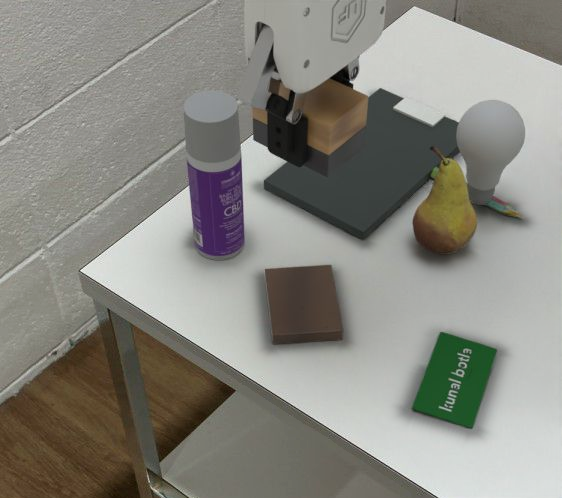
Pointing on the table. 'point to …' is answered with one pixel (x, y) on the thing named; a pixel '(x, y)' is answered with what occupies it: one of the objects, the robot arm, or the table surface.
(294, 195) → the board
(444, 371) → the business card
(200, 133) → the container
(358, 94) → the eraser
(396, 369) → the table surface
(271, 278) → the eraser rest
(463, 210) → the fruit
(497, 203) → the pencil
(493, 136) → the lightbulb
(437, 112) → the white rectangular block
